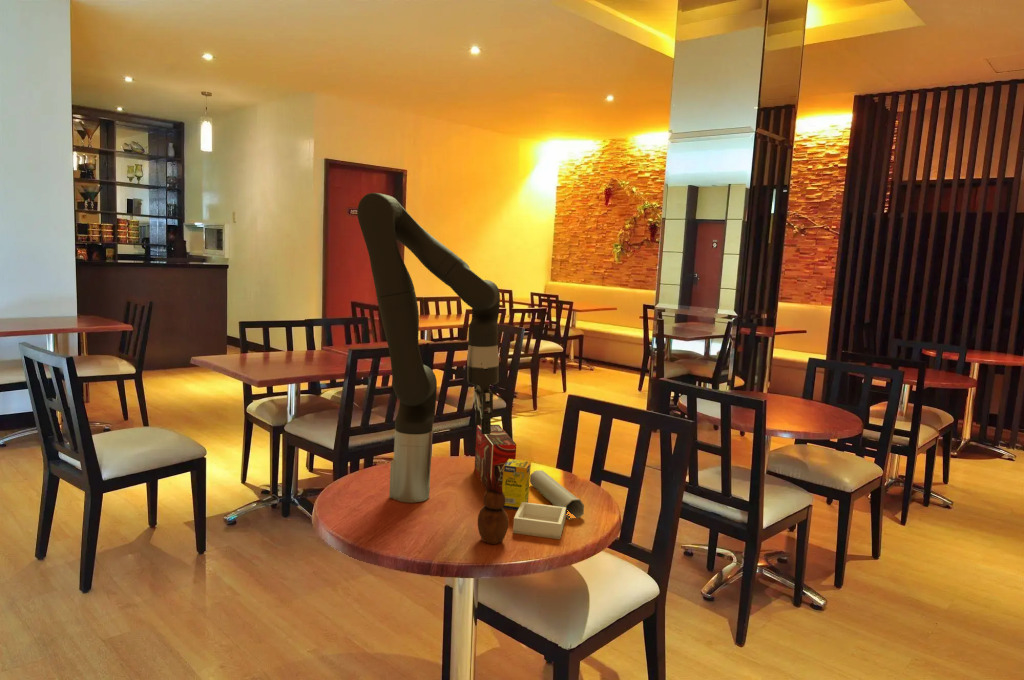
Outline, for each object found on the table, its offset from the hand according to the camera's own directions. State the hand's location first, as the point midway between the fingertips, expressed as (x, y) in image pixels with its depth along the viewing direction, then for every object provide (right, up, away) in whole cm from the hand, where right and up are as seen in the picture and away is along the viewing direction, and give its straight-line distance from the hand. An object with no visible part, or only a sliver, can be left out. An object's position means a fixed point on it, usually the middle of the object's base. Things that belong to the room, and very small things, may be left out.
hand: (483, 429), depth 169 cm
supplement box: (+8, -20, +3) cm, 21 cm away
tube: (+18, -20, +9) cm, 28 cm away
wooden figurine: (+3, -22, -18) cm, 29 cm away
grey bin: (+13, -21, -9) cm, 27 cm away
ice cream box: (+2, -17, +21) cm, 27 cm away
